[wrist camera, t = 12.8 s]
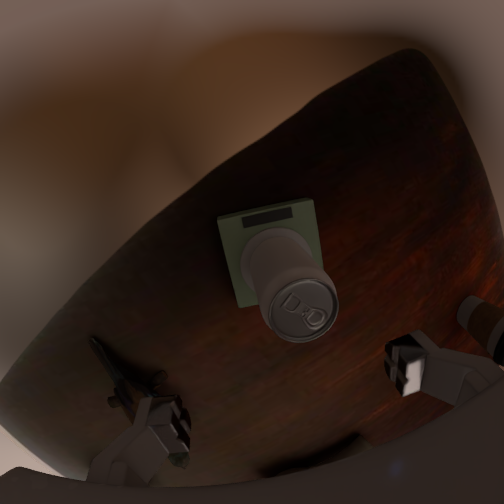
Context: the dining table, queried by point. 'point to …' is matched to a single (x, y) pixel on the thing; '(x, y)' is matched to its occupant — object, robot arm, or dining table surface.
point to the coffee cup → (484, 325)
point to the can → (292, 290)
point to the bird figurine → (133, 392)
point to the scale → (265, 238)
